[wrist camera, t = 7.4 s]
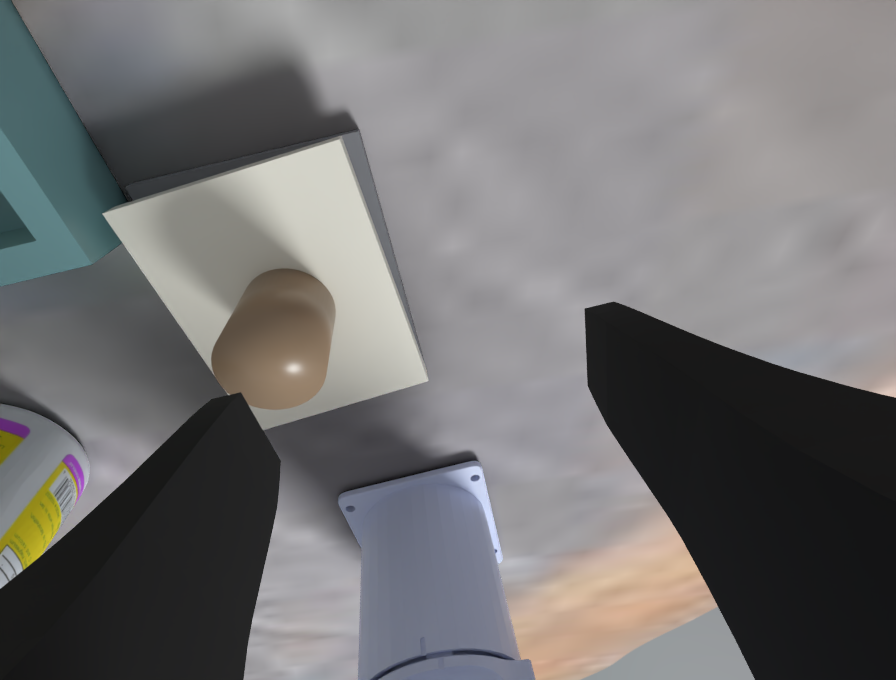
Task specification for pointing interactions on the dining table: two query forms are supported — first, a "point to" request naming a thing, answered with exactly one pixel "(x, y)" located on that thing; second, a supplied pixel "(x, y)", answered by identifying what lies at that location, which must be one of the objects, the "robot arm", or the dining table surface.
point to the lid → (278, 282)
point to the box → (46, 168)
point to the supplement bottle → (35, 485)
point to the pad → (350, 140)
